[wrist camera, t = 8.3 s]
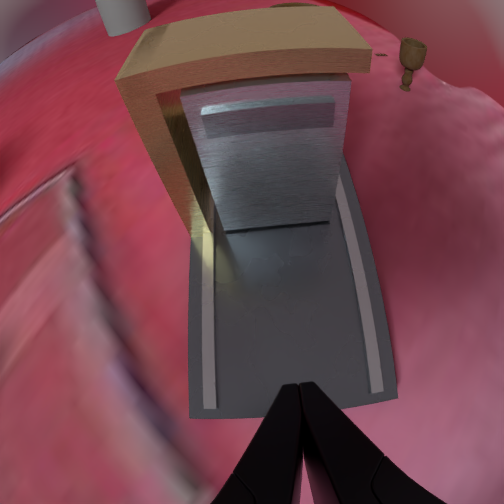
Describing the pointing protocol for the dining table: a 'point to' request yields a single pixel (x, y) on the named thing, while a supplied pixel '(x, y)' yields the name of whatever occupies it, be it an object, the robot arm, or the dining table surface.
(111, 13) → the cup
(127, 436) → the dining table surface
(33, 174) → the dining table surface
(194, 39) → the tan open box housing
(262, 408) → the rail plate
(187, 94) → the grey slider block
